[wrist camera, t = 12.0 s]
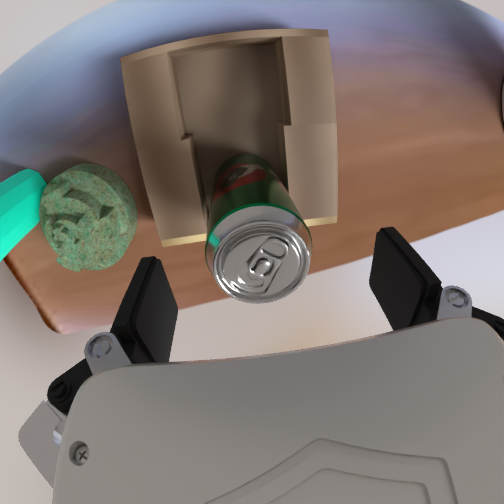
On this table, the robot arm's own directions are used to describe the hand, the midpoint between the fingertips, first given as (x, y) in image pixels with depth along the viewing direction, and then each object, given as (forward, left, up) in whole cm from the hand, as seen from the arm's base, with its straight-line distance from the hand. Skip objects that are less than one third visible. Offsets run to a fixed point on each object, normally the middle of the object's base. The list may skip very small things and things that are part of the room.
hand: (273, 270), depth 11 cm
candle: (+23, -3, -14) cm, 27 cm away
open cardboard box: (+1, -4, -14) cm, 14 cm away
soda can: (0, 0, -13) cm, 13 cm away
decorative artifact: (+15, +1, -14) cm, 21 cm away
